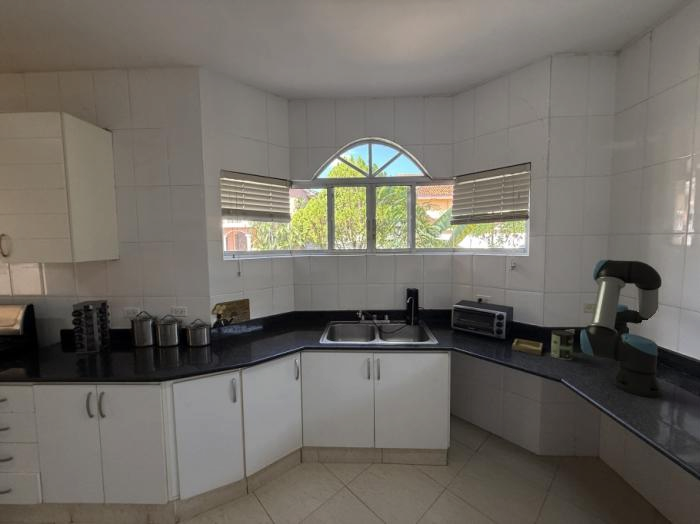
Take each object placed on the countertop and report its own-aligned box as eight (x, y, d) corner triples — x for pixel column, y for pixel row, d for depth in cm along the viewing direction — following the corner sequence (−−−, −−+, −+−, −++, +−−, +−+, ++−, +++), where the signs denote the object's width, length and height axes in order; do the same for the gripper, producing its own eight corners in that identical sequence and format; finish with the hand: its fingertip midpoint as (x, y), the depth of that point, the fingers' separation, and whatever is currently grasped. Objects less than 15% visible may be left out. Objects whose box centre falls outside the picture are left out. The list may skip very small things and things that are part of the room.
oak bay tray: (540, 355, 172) (540, 350, 171) (512, 350, 180) (512, 345, 180) (542, 347, 183) (542, 343, 183) (515, 343, 192) (515, 338, 192)
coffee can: (575, 356, 169) (576, 332, 168) (569, 361, 163) (570, 336, 162) (553, 351, 177) (555, 328, 176) (547, 356, 171) (548, 332, 170)
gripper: (628, 346, 165) (598, 350, 160) (583, 332, 189) (556, 335, 184) (629, 333, 164) (599, 337, 159) (584, 320, 188) (556, 323, 183)
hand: (576, 336), depth 172 cm, fingers open, 13 cm apart
